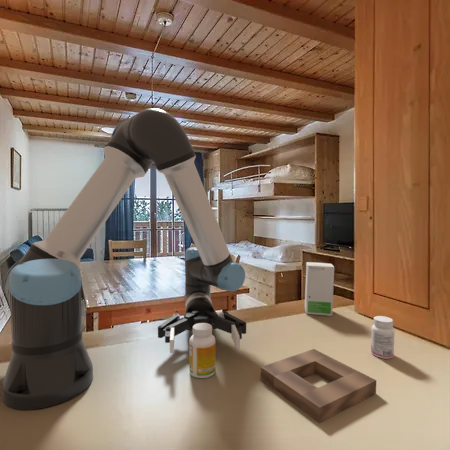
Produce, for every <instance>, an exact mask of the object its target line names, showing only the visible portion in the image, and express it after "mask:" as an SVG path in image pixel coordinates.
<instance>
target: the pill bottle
mask: <svg viewBox="0 0 450 450" xmlns="http://www.w3.org/2000/svg"><path fill="white" fill-rule="evenodd" d="M370 339H371V340H370V341H371V342H370V344H371V345H370V346H371V347H370V352H371V354H372V355H373V356H375V357H377V358H380V359H384V360H385V359H387V360H388V359H389V360H390V359H392V358H394V356H395V329H394V320H393V318H391V317H388V316H385V315H377V316H374V317H373V324H372V326H371V338H370Z"/></svg>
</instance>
